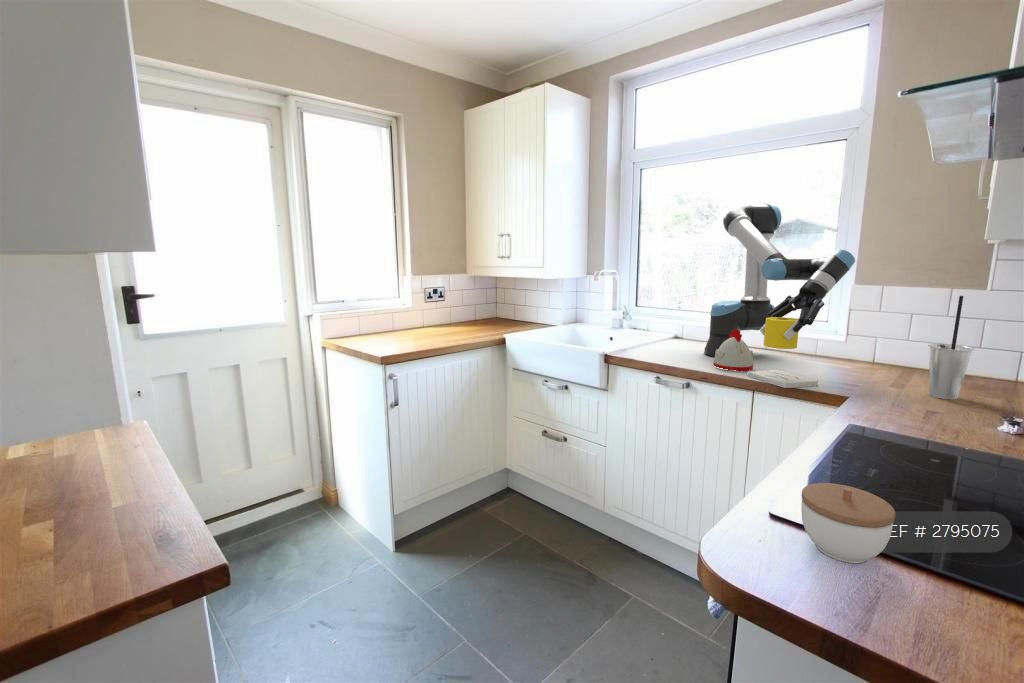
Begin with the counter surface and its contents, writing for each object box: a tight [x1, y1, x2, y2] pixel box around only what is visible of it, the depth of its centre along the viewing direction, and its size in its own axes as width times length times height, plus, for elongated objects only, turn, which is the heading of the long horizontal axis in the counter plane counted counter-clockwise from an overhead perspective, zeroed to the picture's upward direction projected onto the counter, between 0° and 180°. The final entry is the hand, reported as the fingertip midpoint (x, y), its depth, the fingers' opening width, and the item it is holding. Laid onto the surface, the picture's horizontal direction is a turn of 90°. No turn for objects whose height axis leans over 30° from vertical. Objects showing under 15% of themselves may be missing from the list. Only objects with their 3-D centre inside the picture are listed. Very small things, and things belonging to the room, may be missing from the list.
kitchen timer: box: [713, 329, 754, 372], centre depth 181 cm, size 14×14×15 cm
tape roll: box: [763, 316, 799, 350], centre depth 161 cm, size 10×10×9 cm
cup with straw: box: [927, 295, 975, 401], centre depth 139 cm, size 11×11×30 cm
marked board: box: [747, 369, 819, 389], centre depth 161 cm, size 17×13×2 cm
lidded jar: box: [800, 482, 896, 564], centre depth 66 cm, size 11×11×9 cm
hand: (773, 335), depth 160 cm, fingers closed on tape roll, 10 cm apart
